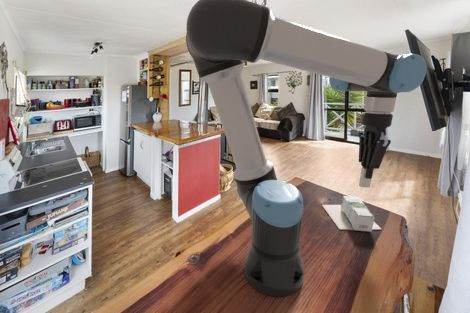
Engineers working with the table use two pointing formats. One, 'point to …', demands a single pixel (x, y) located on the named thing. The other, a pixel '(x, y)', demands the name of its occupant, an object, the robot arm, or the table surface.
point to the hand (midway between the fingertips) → (364, 186)
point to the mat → (341, 218)
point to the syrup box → (357, 213)
